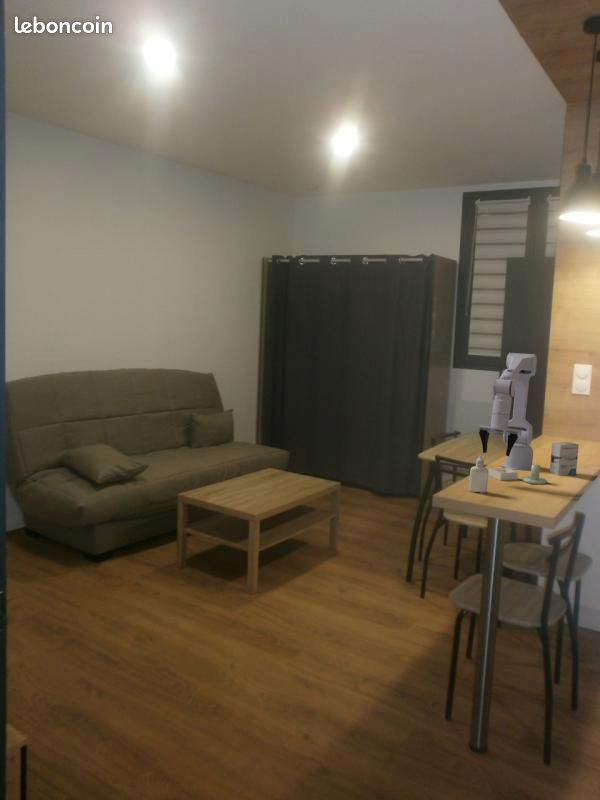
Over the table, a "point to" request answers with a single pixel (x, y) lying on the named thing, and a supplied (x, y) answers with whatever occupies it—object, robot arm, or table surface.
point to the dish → (503, 474)
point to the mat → (535, 484)
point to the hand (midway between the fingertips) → (496, 454)
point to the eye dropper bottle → (478, 477)
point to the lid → (534, 476)
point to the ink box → (564, 458)
